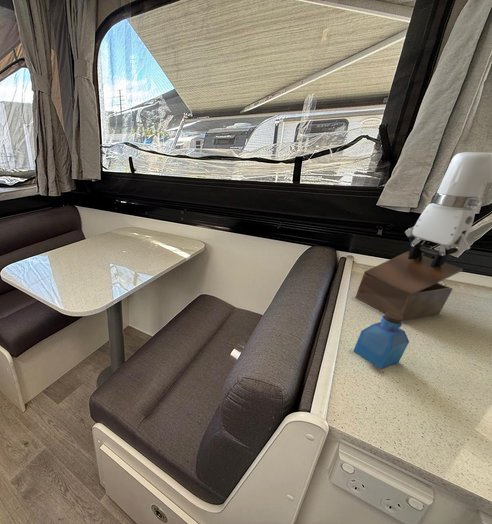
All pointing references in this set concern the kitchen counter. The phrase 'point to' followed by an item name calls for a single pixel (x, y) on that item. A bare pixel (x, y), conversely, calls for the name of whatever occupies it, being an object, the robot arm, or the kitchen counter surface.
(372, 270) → the lid
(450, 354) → the kitchen counter surface
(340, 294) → the kitchen counter surface
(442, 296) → the chest
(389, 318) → the perfume bottle
